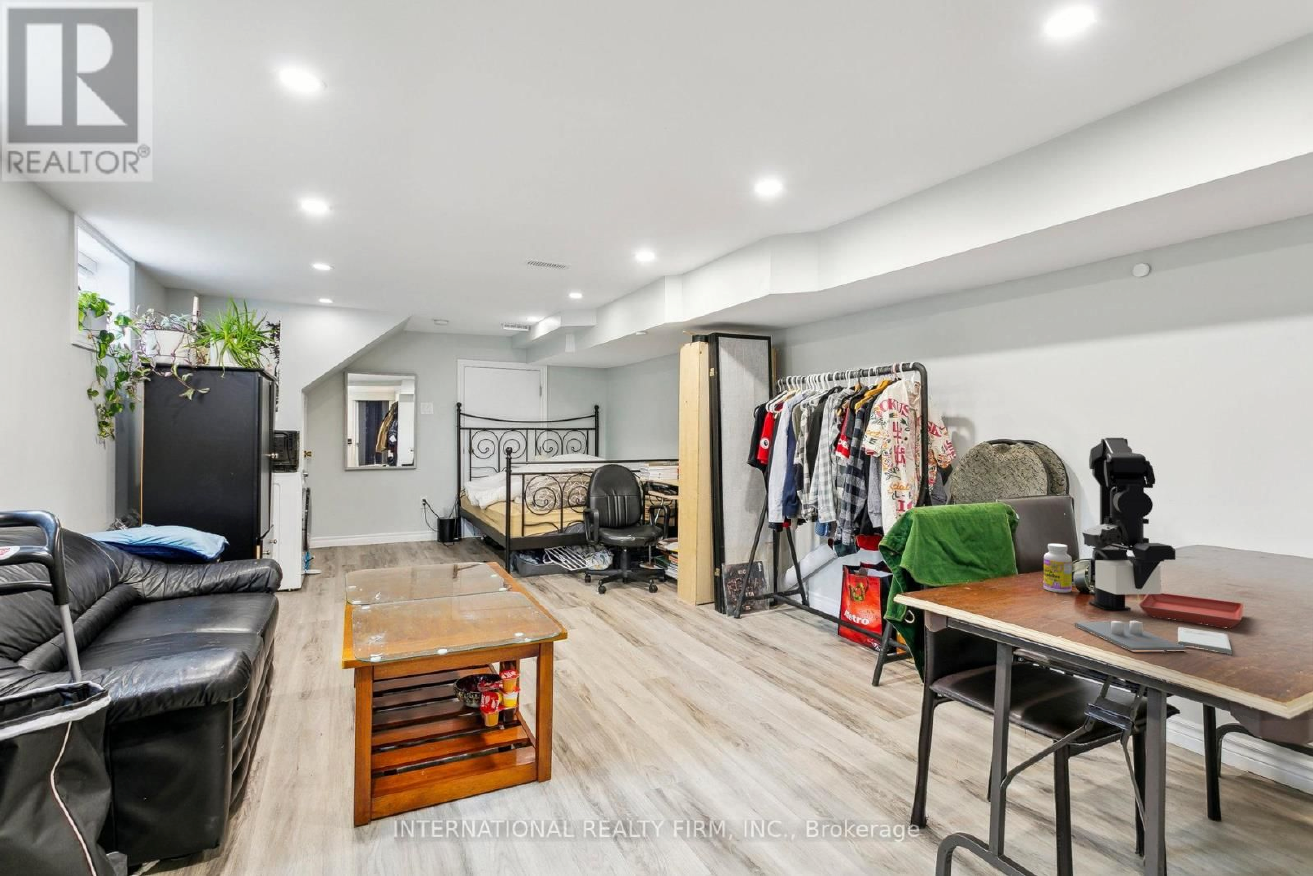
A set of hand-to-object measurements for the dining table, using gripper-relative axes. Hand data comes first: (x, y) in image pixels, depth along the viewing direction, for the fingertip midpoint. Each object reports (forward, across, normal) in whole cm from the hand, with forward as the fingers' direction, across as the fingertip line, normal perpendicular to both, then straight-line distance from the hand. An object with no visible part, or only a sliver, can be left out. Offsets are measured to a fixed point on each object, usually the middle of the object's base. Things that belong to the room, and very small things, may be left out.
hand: (1127, 585), depth 133 cm
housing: (+1, 0, 0) cm, 1 cm away
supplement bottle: (+12, -41, +12) cm, 44 cm away
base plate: (+12, 0, 0) cm, 12 cm away
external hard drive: (+12, +3, +14) cm, 19 cm away
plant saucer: (+12, -16, +28) cm, 34 cm away
